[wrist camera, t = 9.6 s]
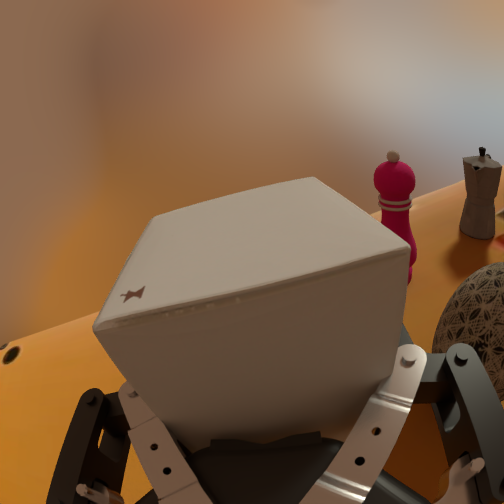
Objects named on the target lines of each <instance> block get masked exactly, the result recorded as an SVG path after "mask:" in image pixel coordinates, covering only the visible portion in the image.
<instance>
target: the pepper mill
mask: <svg viewBox="0 0 504 504" xmlns="http://www.w3.org/2000/svg"><path fill="white" fill-rule="evenodd" d="M387 159H388V161H387V162H384V163H382V164H380V165H379V166H378V167H377V168H376V170H375V173H374V185H375V188H376V189H377V190H378V191H379V193H380V195H379V196H378V199H379V202H378V205H379V206H380V207H381V209H382V220H381V224H383V225H384V226H385V227H387V228H388V229H390V230H391V231H392V232H394V233H395V234H396V235H398V236H399V237H400V238H402V239H403V240H404V241H406V242H407V243H408V244H409V245H410V247H411V253H410V262H409V272H408V283H409V282H410V281H411V277H412V265H413V264H414V263H415V261H416V257H417V248H416V243H415V240H414V238H413V235H412V232H411V229H410V224H409V209H410V208H411V207H412V202H411V201H412V196H411V195H410V193H411V192H412V191H413V190H414V187H415V176H414V173H413V171H412V169H411V168H410V167H409V166H408V165H407V164H405V163H403V162H400V161H398V160H399V154H398V152H397V151H395V150H391V151H389V152H388V153H387ZM408 283H407V284H408Z"/></svg>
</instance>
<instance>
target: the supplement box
mask: <svg viewBox="0 0 504 504" xmlns="http://www.w3.org/2000/svg"><path fill="white" fill-rule="evenodd" d="M410 253H411V247H410V245H409V244H408V243H407V242H406V241H404V240H403V239H402V238H400V237H399V236H398V235H396V234H395V233H394V232H392V231H391V230H390V229H388V228H387V227H385V226H384V225H383V224H381V223H380V222H379V221H377V220H376V219H374V218H373V217H371V216H370V215H369V214H367V213H366V212H365V211H363V210H362V209H360V208H359V207H357V206H356V205H354V204H353V203H352V202H350V201H349V200H348V199H346V198H345V197H343V196H341V195H340V194H339V193H337V192H336V191H334V190H333V189H331V188H330V187H328V186H327V185H325V184H324V183H322V182H321V181H319V180H318V179H316V178H315V177H308V178H303V179H296V180H291V181H287V182H282V183H278V184H273V185H269V186H264V187H260V188H255V189H251V190H247V191H243V192H239V193H235V194H231V195H228V196H224V197H220V198H216V199H212V200H209V201H205V202H201V203H198V204H194V205H191V206H187V207H184V208H181V209H177V210H174V211H171V212H168V213H164V214H161V215H158V216H155V217H153V218H152V219H151V220H150V221H149V223H148V225H147V226H146V228H145V230H144V232H143V234H142V235H141V237H140V238H139V240H138V242H137V244H136V245H135V247H134V249H133V251H132V252H131V254H130V255H129V257H128V258H127V260H126V262H125V265H124V267H123V269H122V270H121V272H120V274H119V276H118V278H117V280H116V282H115V284H114V286H113V287H112V289H111V291H110V293H109V295H108V297H107V299H106V300H105V303H104V305H103V307H102V309H101V311H100V313H99V315H98V316H97V318H96V320H95V322H94V324H93V326H92V328H93V332H94V334H95V335H96V337H97V339H98V340H99V342H100V343H101V345H102V346H103V348H104V349H105V351H106V352H107V354H108V355H109V357H110V358H111V359H112V361H113V362H114V364H115V365H116V366H117V368H118V369H119V370H120V372H121V373H122V374H123V376H124V377H125V378H126V380H127V381H128V382H129V384H130V385H131V386H132V387H133V389H134V390H135V391H136V393H137V394H138V395H139V396H140V398H141V399H142V400H143V401H144V402H145V403H146V404H147V406H148V407H149V408H150V409H151V411H152V412H153V413H154V414H155V415H156V416H157V417H158V418H159V420H161V421H163V422H164V423H165V424H166V426H167V427H168V428H169V429H170V430H171V431H172V432H173V433H174V434H175V435H176V436H177V437H178V438H179V439H180V440H181V441H182V442H183V443H184V444H185V445H186V446H187V447H188V448H189V449H190V450H191V451H192V452H193V453H194V452H196V451H198V450H200V449H202V448H205V447H208V446H210V441H211V439H239V440H244V441H249V442H255V443H262V444H264V443H269V442H272V441H275V440H278V439H281V438H285V437H288V436H290V435H295V434H303V433H310V432H316V431H320V433H321V437H325V438H332V439H336V440H340V441H342V442H345V441H346V439H347V437H348V436H349V434H350V432H351V431H352V429H353V427H354V425H355V424H356V422H357V420H358V418H359V417H360V415H361V413H362V411H363V409H364V407H365V406H366V404H367V402H368V400H369V398H370V396H371V395H372V394H374V393H375V391H376V389H377V387H378V385H379V383H380V381H381V379H383V378H385V377H388V376H389V375H391V374H392V373H393V369H394V365H395V360H396V355H397V350H398V344H399V339H400V333H401V328H402V322H403V315H404V308H405V300H406V292H407V283H408V272H409V262H410Z"/></svg>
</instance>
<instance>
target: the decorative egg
mask: <svg viewBox="0 0 504 504" xmlns="http://www.w3.org/2000/svg"><path fill="white" fill-rule="evenodd" d="M457 343H464V344H467V345H469V346H471V347H472V348H473V349H474V350H475V351H476V353H477V355H478V357H479V359H480V360H481V362H482V364H483V366H484V368H485V370H486V372H487V374H488V376H489V378H490V380H491V382H492V385H493V387H494V389H495V391H496V393H497V395H498V398H499V400H500V402H501V401H503V400H504V262H499V263H493V264H490V265H487V266H484V267H482V268H481V269H479V270H477V271H476V272H474V273H473V274H471V275H470V276H469V277H468V278H467V279H466V280H465V281H464V282H463V283H462V284H461V285H460V286H459V287H458V288H457V290H456V291H455V292H454V294H453V295H452V297H451V298H450V300H449V302H448V303H447V305H446V307H445V309H444V311H443V313H442V315H441V317H440V320H439V323H438V325H437V328H436V332H435V335H434V340H433V346H432V354H438V353H447V351H448V349H449V348H450V347H451V346H452V345H454V344H457Z"/></svg>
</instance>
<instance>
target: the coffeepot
mask: <svg viewBox="0 0 504 504" xmlns="http://www.w3.org/2000/svg"><path fill="white" fill-rule="evenodd" d="M485 151H486V149H485V148H483V147H480V148H479V153H480V156H473V157H466V158H463V165H464V174H465V185H466V191H467V198H466V200H465V204H464V208H463V212H462V216H461V220H460V229H461V231H462V232H463V233H465V234H466V235H468V236H470V237H473V238H476V239H489V238H491V237H493V235H495V206H494V198H495V197H496V196H497V191H498V186H499V181H500V176H501V170H502V166H501V165H500V164H499V163H498V162H496V161H494V160H492V159H491V157H490V155H488V154H486V155H485Z"/></svg>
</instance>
